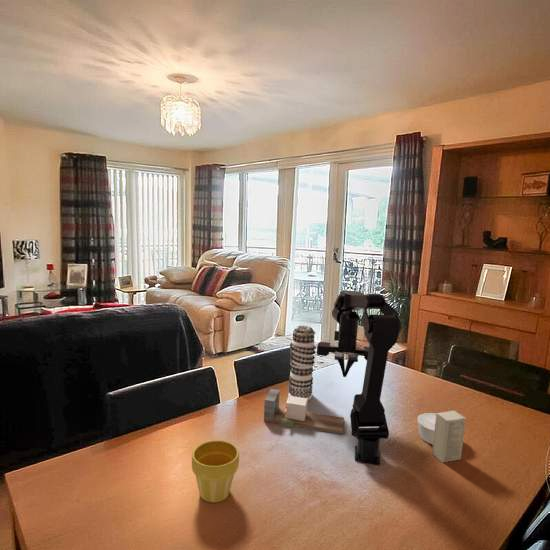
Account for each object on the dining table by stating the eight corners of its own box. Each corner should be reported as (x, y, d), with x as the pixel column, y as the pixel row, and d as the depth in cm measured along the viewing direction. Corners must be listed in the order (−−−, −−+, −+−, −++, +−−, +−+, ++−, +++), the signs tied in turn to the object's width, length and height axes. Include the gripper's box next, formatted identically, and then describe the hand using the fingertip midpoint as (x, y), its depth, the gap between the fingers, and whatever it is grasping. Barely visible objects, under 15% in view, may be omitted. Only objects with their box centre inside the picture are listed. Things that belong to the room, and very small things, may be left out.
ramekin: (413, 442, 110) (415, 425, 109) (418, 424, 120) (420, 409, 119) (455, 454, 105) (458, 436, 104) (457, 435, 115) (459, 418, 114)
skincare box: (449, 450, 107) (454, 409, 105) (461, 460, 102) (467, 418, 101) (430, 453, 105) (435, 412, 103) (442, 463, 101) (447, 420, 99)
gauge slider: (303, 426, 113) (303, 410, 113) (283, 422, 115) (284, 407, 114) (306, 413, 121) (307, 398, 120) (288, 410, 122) (288, 395, 122)
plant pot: (216, 471, 93) (217, 433, 92) (247, 491, 87) (248, 451, 86) (181, 493, 85) (182, 452, 84) (212, 517, 79) (213, 473, 78)
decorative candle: (284, 398, 133) (287, 329, 129) (290, 388, 142) (294, 322, 138) (309, 403, 130) (314, 332, 127) (315, 392, 139) (319, 325, 136)
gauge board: (342, 435, 112) (344, 412, 111) (263, 422, 117) (264, 400, 116) (343, 420, 120) (345, 399, 119) (269, 409, 125) (270, 388, 124)
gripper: (376, 326, 127) (372, 370, 130) (320, 320, 130) (317, 363, 133) (379, 336, 116) (374, 384, 119) (318, 329, 120) (314, 376, 122)
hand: (344, 376), depth 123 cm, fingers closed
